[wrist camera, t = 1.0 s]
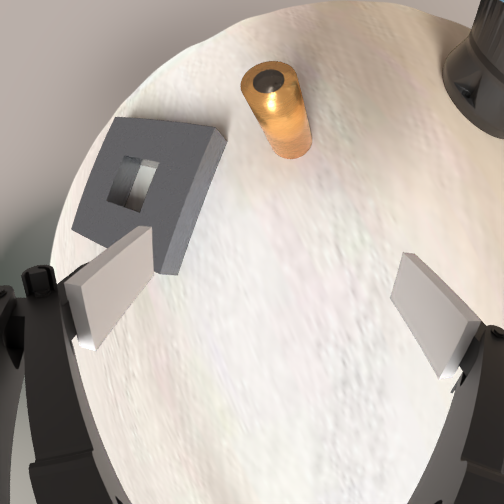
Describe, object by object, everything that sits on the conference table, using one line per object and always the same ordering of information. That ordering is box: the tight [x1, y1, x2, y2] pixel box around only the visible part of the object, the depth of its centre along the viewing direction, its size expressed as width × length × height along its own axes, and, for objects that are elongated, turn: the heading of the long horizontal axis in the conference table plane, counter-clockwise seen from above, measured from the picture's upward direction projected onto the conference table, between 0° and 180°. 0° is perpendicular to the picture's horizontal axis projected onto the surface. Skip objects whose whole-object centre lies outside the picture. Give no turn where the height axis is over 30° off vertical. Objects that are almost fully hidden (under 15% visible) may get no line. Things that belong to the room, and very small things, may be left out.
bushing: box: [241, 61, 312, 159], centre depth 28 cm, size 5×5×12 cm
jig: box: [71, 117, 227, 275], centre depth 37 cm, size 18×18×4 cm
